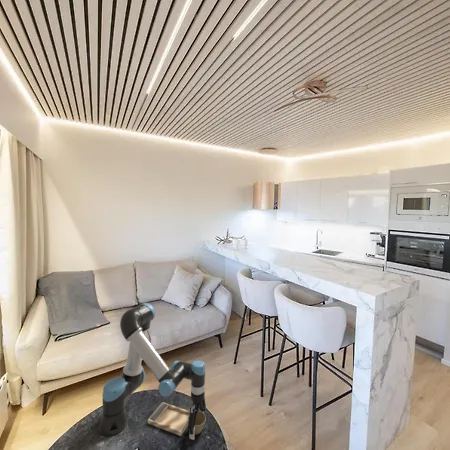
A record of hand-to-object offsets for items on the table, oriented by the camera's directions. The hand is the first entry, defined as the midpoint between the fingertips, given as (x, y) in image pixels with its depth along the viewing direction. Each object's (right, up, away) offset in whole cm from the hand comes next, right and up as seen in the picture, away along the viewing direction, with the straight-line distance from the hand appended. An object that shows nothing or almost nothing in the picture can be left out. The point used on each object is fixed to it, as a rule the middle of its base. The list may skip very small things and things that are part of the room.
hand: (196, 430), depth 135 cm
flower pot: (0, 0, 0) cm, 0 cm away
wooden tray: (-16, 0, +7) cm, 17 cm away
